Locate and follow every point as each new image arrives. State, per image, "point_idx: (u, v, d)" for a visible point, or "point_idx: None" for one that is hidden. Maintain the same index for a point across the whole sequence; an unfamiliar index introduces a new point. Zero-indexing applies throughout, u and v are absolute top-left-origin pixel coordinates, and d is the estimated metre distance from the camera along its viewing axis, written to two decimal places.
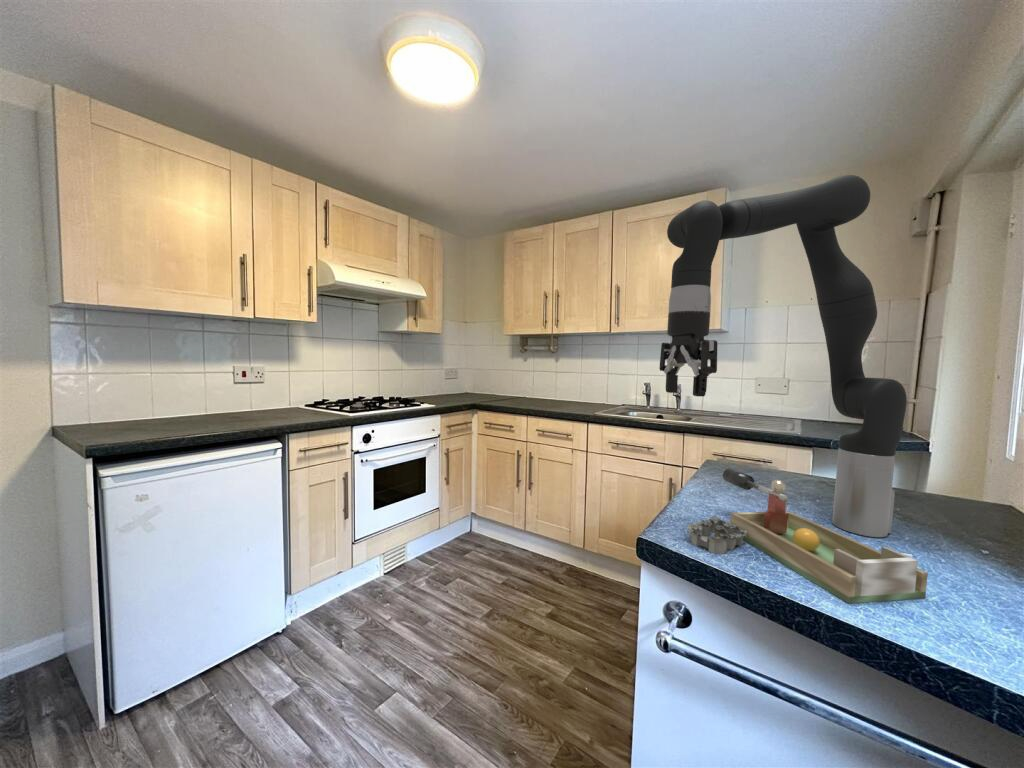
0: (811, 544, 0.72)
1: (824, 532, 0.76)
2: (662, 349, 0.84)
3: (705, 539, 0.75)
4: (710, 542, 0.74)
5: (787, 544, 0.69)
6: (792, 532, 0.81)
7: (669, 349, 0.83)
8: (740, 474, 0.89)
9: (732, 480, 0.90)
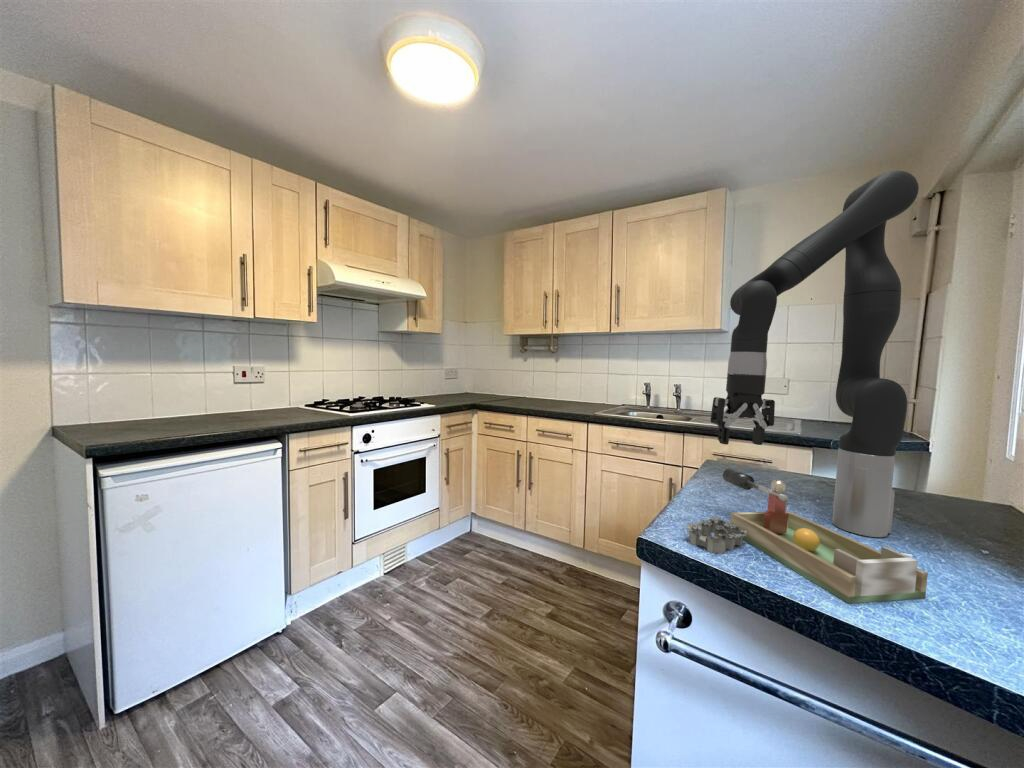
0: (811, 544, 0.72)
1: (824, 532, 0.76)
2: (722, 404, 0.88)
3: (704, 539, 0.75)
4: (708, 542, 0.74)
5: (787, 544, 0.69)
6: (792, 532, 0.81)
7: None
8: (740, 474, 0.89)
9: (732, 480, 0.90)
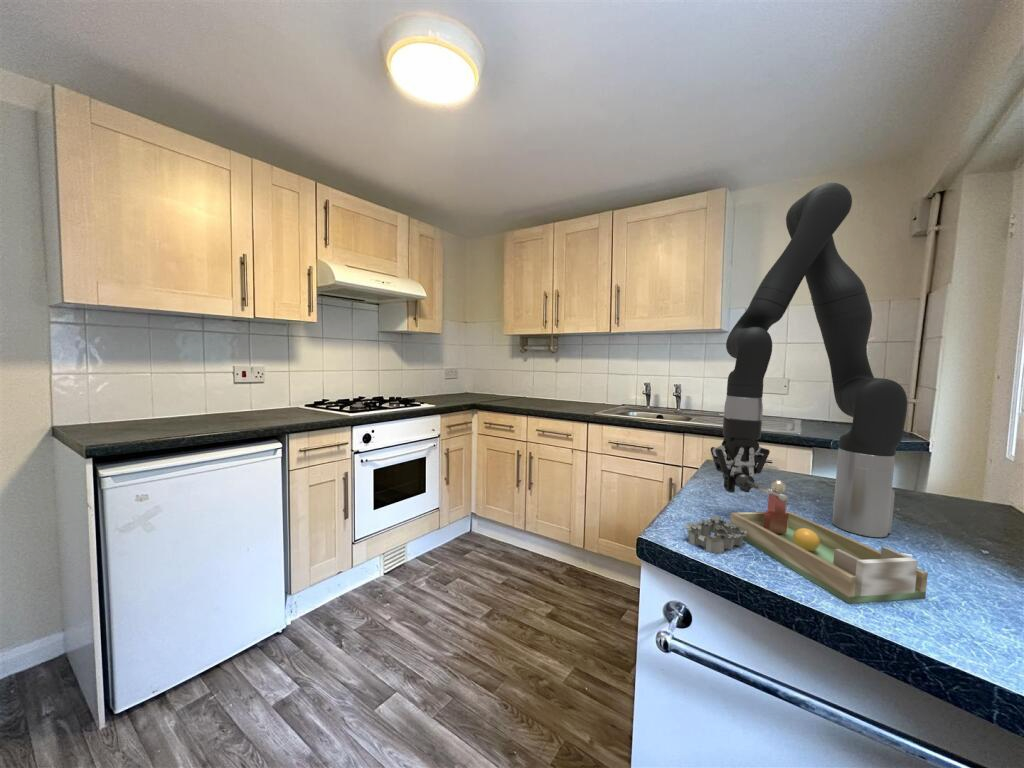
0: (811, 544, 0.72)
1: (824, 532, 0.76)
2: (720, 455, 0.88)
3: (702, 538, 0.75)
4: (707, 541, 0.74)
5: (787, 544, 0.69)
6: (792, 532, 0.81)
7: (723, 452, 0.89)
8: (740, 474, 0.89)
9: None
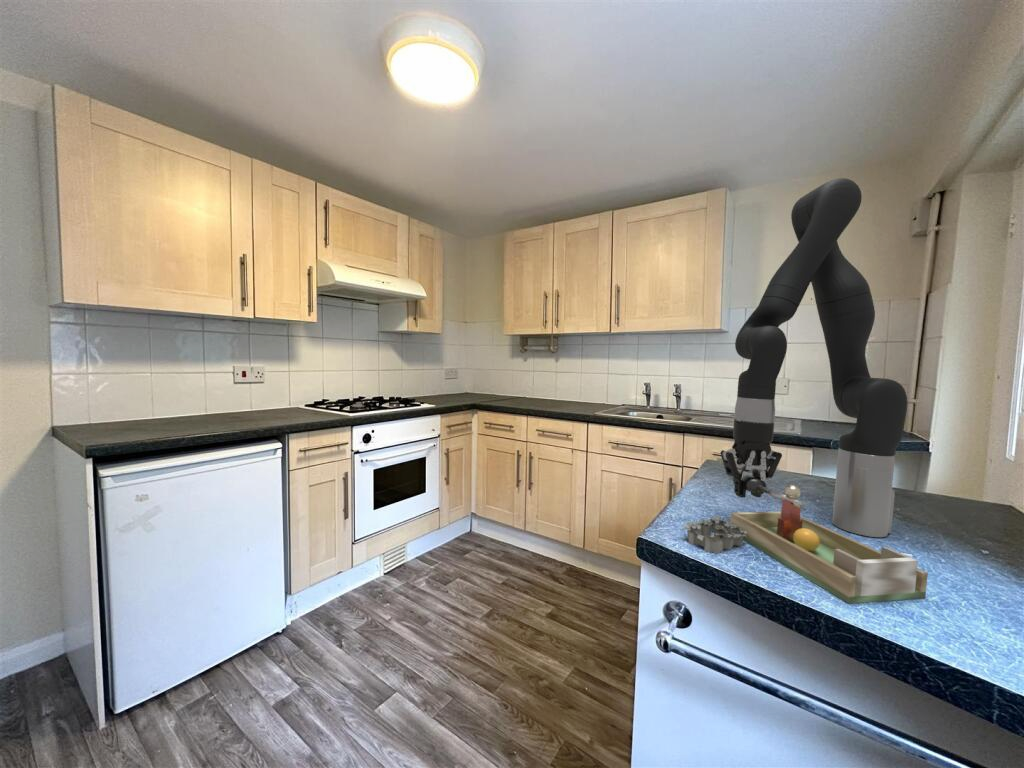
0: (811, 544, 0.72)
1: (824, 532, 0.76)
2: (731, 459, 0.85)
3: (701, 538, 0.75)
4: (706, 541, 0.74)
5: (787, 544, 0.69)
6: None
7: (733, 455, 0.86)
8: (751, 478, 0.86)
9: None
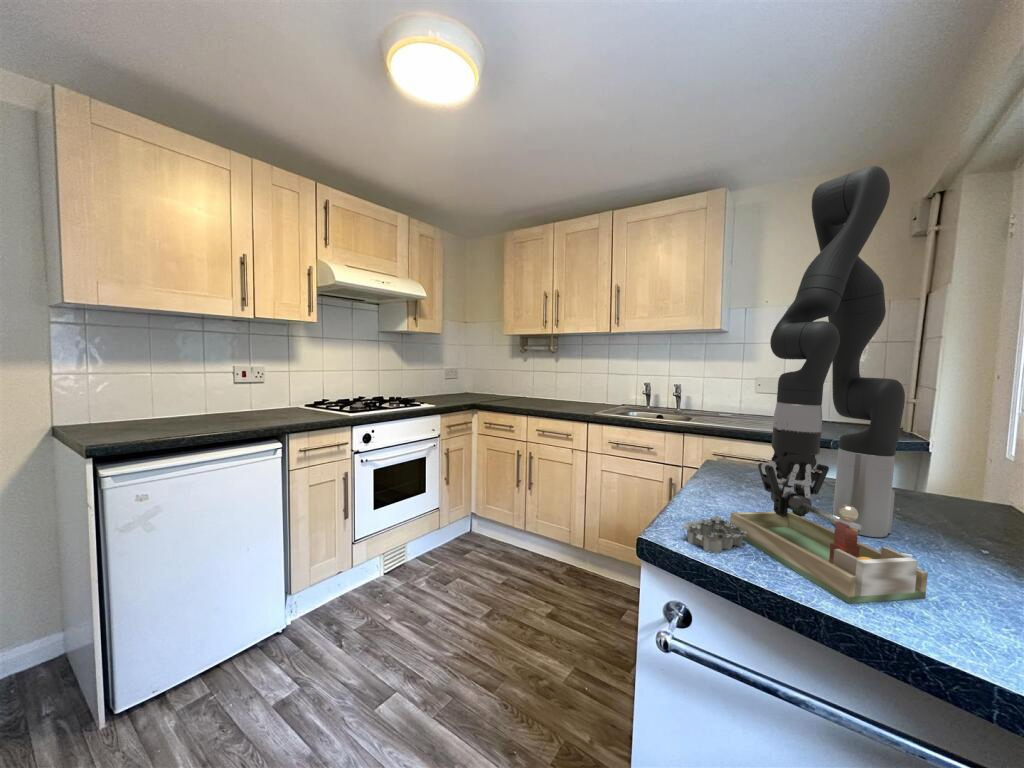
0: None
1: (824, 532, 0.76)
2: (771, 473, 0.75)
3: (700, 537, 0.75)
4: (705, 540, 0.74)
5: (787, 544, 0.69)
6: (792, 532, 0.81)
7: (774, 469, 0.76)
8: (794, 495, 0.75)
9: None
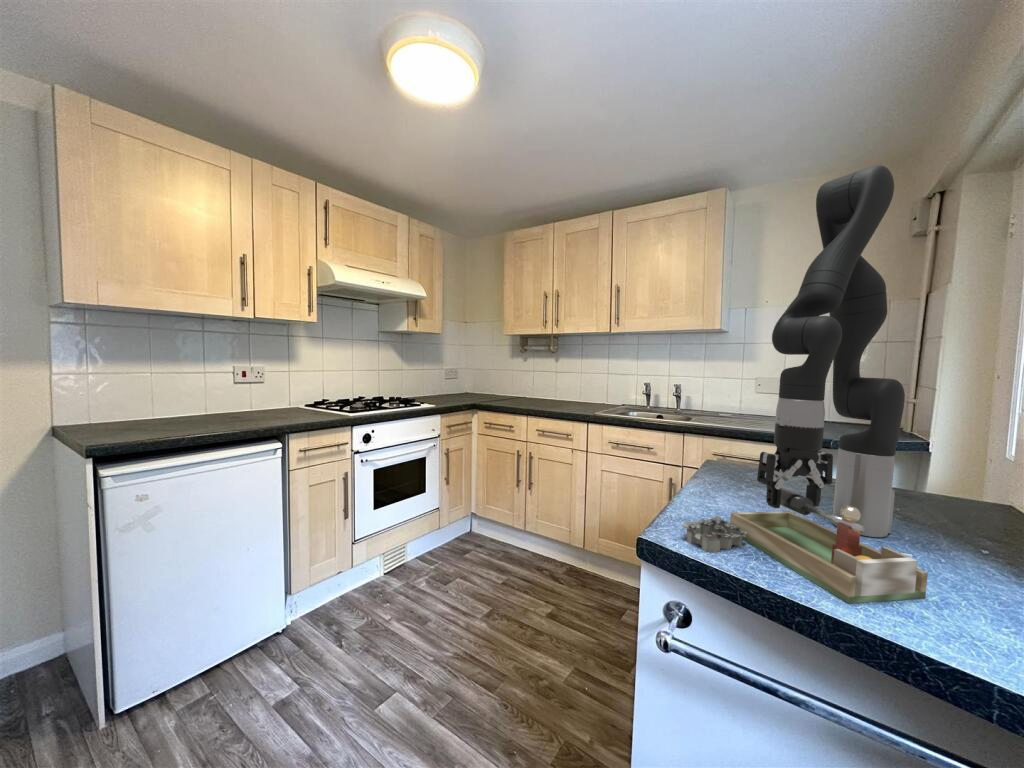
0: None
1: (824, 532, 0.76)
2: (772, 462, 0.74)
3: (699, 537, 0.76)
4: (703, 540, 0.74)
5: (787, 544, 0.69)
6: (792, 532, 0.81)
7: (774, 461, 0.75)
8: (796, 496, 0.75)
9: (785, 502, 0.76)
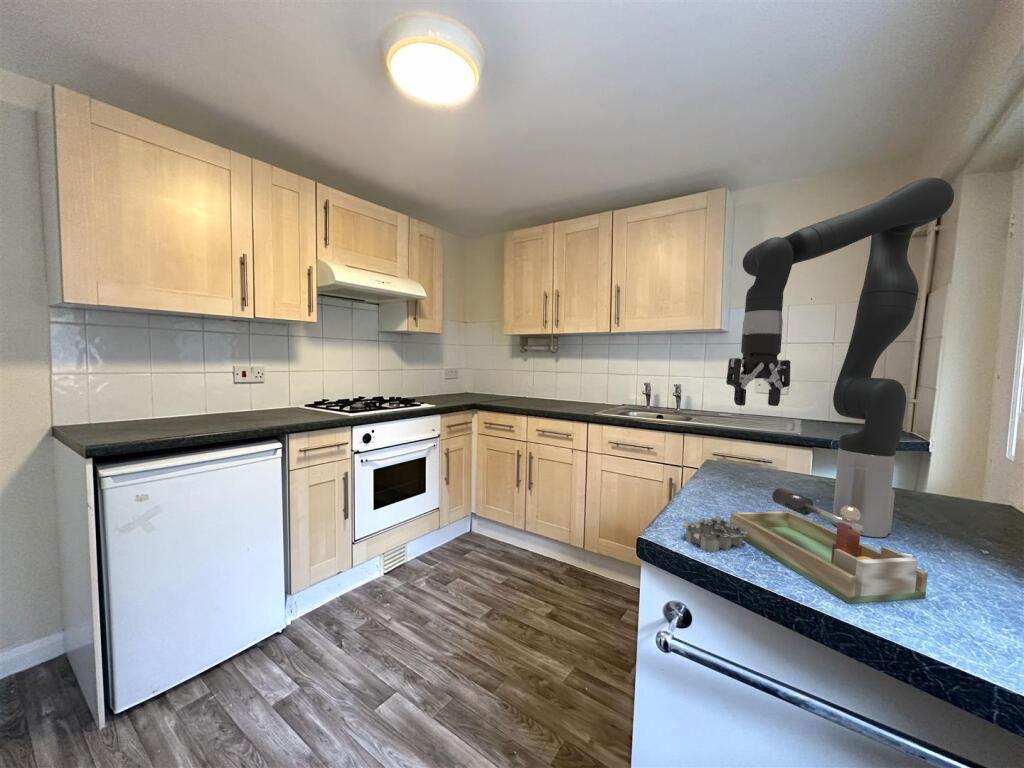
0: None
1: (824, 532, 0.76)
2: (738, 364, 0.86)
3: (698, 536, 0.76)
4: (701, 539, 0.75)
5: (787, 544, 0.69)
6: (792, 532, 0.81)
7: None
8: (796, 496, 0.75)
9: (785, 502, 0.76)
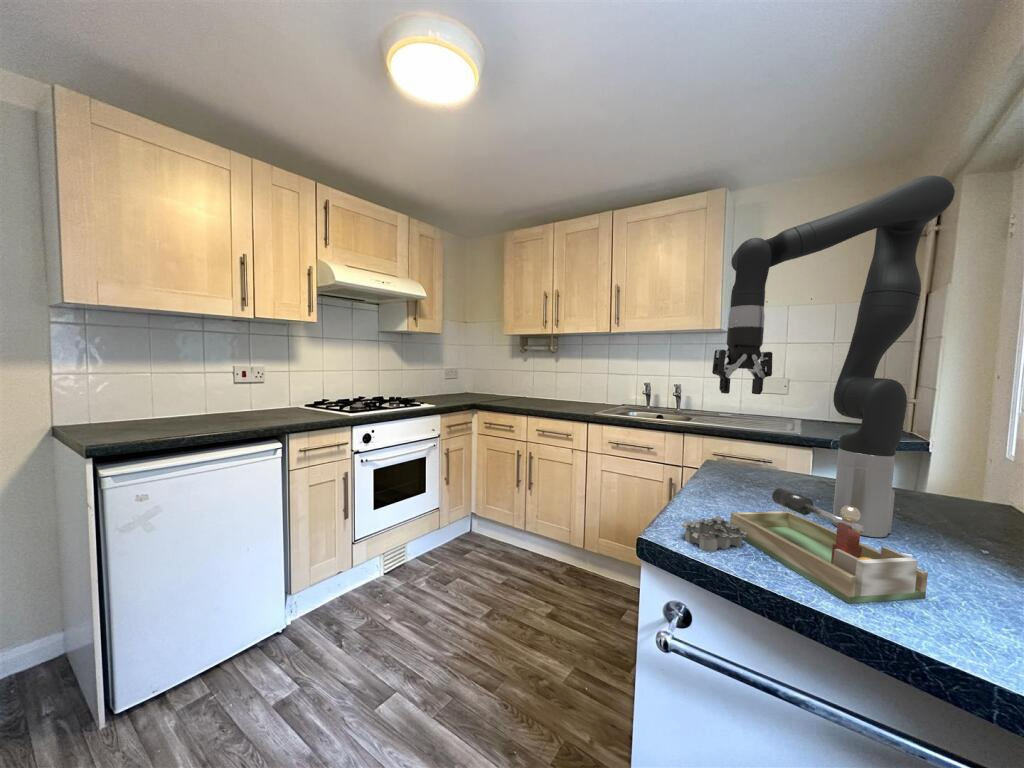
0: None
1: (824, 532, 0.76)
2: (723, 355, 0.94)
3: (696, 536, 0.76)
4: (700, 539, 0.75)
5: (787, 544, 0.69)
6: (792, 532, 0.81)
7: None
8: (796, 496, 0.75)
9: (785, 502, 0.76)
